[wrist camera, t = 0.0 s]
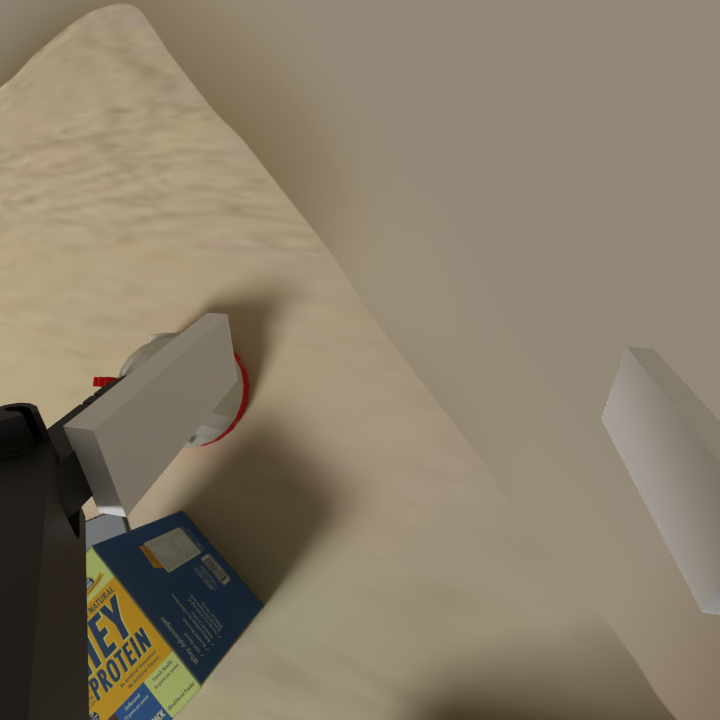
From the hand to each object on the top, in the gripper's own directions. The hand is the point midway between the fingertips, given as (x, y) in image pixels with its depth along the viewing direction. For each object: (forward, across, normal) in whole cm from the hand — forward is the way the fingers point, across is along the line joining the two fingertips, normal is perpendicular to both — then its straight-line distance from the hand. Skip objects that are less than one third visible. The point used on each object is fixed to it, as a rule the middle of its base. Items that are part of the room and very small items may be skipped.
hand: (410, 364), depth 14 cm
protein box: (+14, +24, +41) cm, 50 cm away
